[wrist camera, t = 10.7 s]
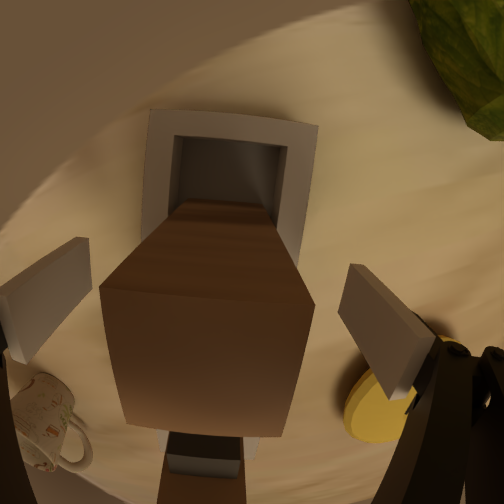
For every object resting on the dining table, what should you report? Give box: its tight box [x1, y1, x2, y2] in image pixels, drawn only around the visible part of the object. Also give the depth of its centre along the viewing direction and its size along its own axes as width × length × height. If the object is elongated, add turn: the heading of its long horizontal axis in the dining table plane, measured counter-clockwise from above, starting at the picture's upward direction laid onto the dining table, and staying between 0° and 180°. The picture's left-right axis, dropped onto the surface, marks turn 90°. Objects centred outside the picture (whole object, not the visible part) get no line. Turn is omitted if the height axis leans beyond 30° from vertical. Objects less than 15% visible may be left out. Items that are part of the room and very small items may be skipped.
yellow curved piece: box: [343, 335, 461, 443], centre depth 25 cm, size 16×16×7 cm
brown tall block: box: [99, 198, 315, 437], centre depth 14 cm, size 8×5×14 cm, turn 174°
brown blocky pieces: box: [141, 109, 318, 504], centre depth 17 cm, size 30×10×16 cm, turn 173°
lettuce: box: [409, 0, 504, 141], centre depth 10 cm, size 16×21×15 cm
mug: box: [10, 373, 93, 473], centre depth 23 cm, size 8×13×10 cm, turn 35°
